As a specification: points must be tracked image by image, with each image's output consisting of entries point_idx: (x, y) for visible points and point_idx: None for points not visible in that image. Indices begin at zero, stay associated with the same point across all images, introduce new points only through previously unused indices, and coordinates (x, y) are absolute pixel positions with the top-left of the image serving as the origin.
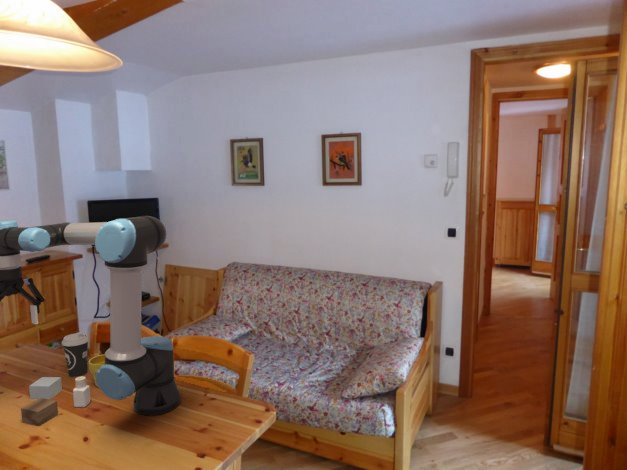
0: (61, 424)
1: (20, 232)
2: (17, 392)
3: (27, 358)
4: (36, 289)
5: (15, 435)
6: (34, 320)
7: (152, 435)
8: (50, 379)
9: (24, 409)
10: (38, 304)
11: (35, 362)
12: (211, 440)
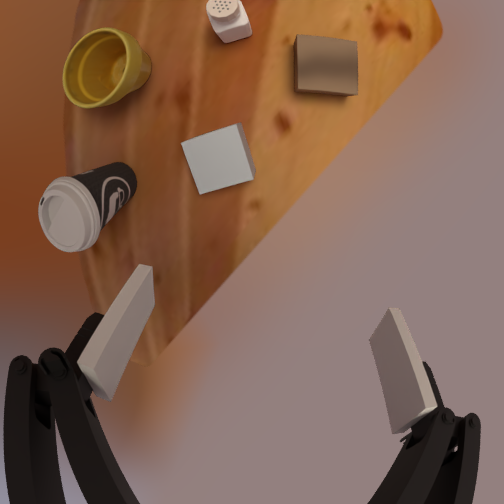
0: (322, 11)
1: None
2: (241, 228)
3: None
4: (12, 479)
5: (387, 72)
6: (143, 295)
7: None
8: (201, 158)
9: (357, 82)
10: (61, 361)
11: None
12: None
